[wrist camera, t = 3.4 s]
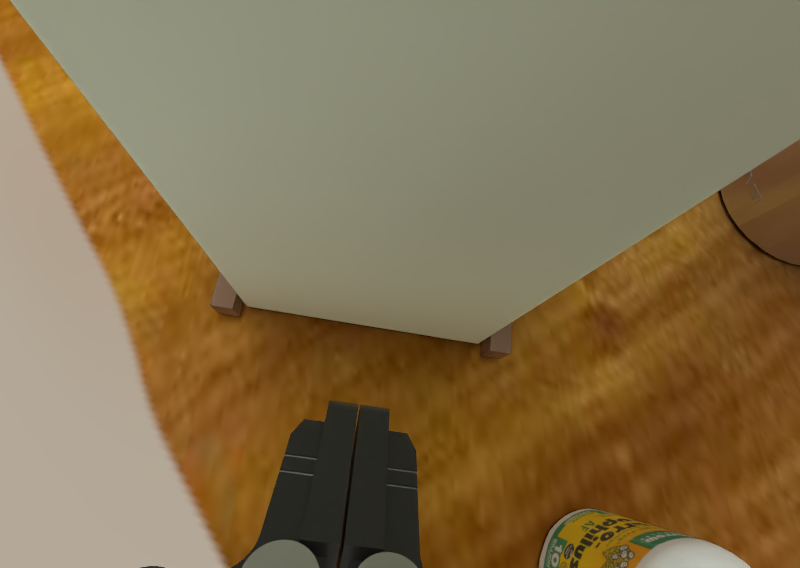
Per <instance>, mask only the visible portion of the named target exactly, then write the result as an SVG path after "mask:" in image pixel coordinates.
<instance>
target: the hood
mask: <svg viewBox="0 0 800 568" xmlns="http://www.w3.org/2000/svg"><path fill="white" fill-rule="evenodd" d="M10 1H11V2H12V4H13V5H14V6H15V8H16V9H17V10H18V11H19V13H20V14H21V15H22V17H23V18H24V19H25V20H26V22H27V23H28V24H29V26H30V27H31V28H32V29H33V31H34V32H35V33H36V35H37V36H38V37H39V39H40V40H41V41H42V42H43V44H44V45H45V46H46V48H47V49H48V50H49V51H50V53H51V54H52V55H53V57H54V58H55V59H56V60H57V62H58V63H59V64H60V66H61V67H62V68H63V70H64V71H65V72H66V73H67V75H68V76H69V77H70V79H71V80H72V81H73V82H74V84H75V85H76V86H77V88H78V89H79V90H80V91H81V93H82V94H83V95H84V97H85V98H86V99H87V100H88V102H89V103H90V104H91V106H92V107H93V108H94V110H95V111H96V112H97V113H98V115H99V116H100V117H101V119H102V120H103V121H104V122H105V124H106V125H107V126H108V128H109V129H110V130H111V131H112V133H113V134H114V135H115V137H116V138H117V139H118V141H119V142H120V143H121V144H122V146H123V147H124V148H125V150H126V151H127V152H128V153H129V155H130V156H131V157H132V159H133V160H134V161H135V162H136V164H137V165H138V166H139V168H140V169H141V170H142V171H143V173H144V174H145V175H146V177H147V178H148V179H149V181H150V182H151V183H152V184H153V186H154V187H155V188H156V190H157V191H158V192H159V193H160V195H161V196H162V197H163V199H164V200H165V201H166V202H167V204H168V205H169V206H170V208H171V209H172V210H173V212H174V213H175V214H176V215H177V217H178V218H179V219H180V221H181V222H182V223H183V224H184V226H185V227H186V228H187V230H188V231H189V232H190V233H191V235H192V236H193V237H194V239H195V240H196V241H197V243H198V244H199V245H200V246H201V248H202V249H203V250H204V252H205V253H206V254H207V255H208V257H209V258H210V259H211V261H212V262H213V263H214V264H215V266H216V267H217V268H218V270H219V271H220V272H221V273H222V275H223V276H224V277H225V279H226V280H227V281H228V283H229V284H230V285H231V286H232V288H233V289H234V290H235V292H236V293H237V294H238V295H239V297H240V298H241V299H242V301H243V302H244V303H245V304H246V306H248V307H254V308H260V309H266V310H273V311H279V312H285V313H291V314H297V315H303V316H310V317H316V318H322V319H328V320H334V321H340V322H346V323H353V324H359V325H365V326H371V327H377V328H383V329H389V330H396V331H402V332H408V333H414V334H420V335H426V336H432V337H439V338H445V339H451V340H457V341H463V342H469V343H475V344H478V343H480V342H481V341H483V340H485V339H486V338H488V337H489V336H491V335H492V334H494V333H496V332H497V331H499V330H500V329H502V328H503V327H505V326H507V325H508V324H510V323H511V322H513V321H514V320H516V319H518V318H519V317H521V316H522V315H524V314H525V313H527V312H529V311H530V310H532V309H533V308H535V307H536V306H538V305H540V304H541V303H543V302H544V301H546V300H548V299H549V298H551V297H552V296H554V295H555V294H557V293H559V292H560V291H562V290H563V289H565V288H566V287H568V286H570V285H571V284H573V283H574V282H576V281H577V280H579V279H581V278H582V277H584V276H585V275H587V274H588V273H590V272H592V271H593V270H595V269H596V268H598V267H599V266H601V265H603V264H604V263H606V262H607V261H609V260H610V259H612V258H614V257H615V256H617V255H618V254H620V253H621V252H623V251H625V250H626V249H628V248H629V247H631V246H632V245H634V244H636V243H637V242H639V241H640V240H642V239H643V238H645V237H647V236H648V235H650V234H651V233H653V232H655V231H656V230H658V229H659V228H661V227H662V226H664V225H666V224H667V223H669V222H670V221H672V220H673V219H675V218H677V217H678V216H680V215H681V214H683V213H684V212H686V211H688V210H689V209H691V208H692V207H694V206H695V205H697V204H699V203H700V202H702V201H703V200H705V199H706V198H708V197H710V196H711V195H713V194H714V193H716V192H717V191H719V190H721V189H722V188H724V187H725V186H727V185H728V184H730V183H732V182H733V181H735V180H736V179H738V178H739V177H741V176H743V175H744V174H746V173H747V172H749V171H750V170H752V169H754V168H755V167H757V166H758V165H760V164H762V163H763V162H765V161H766V160H768V159H769V158H771V157H773V156H774V155H776V154H777V153H779V152H780V151H782V150H784V149H785V148H787V147H788V146H790V145H791V144H793V143H795V142H796V141H798V140H799V139H800V0H10Z"/></svg>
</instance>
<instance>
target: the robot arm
mask: <svg viewBox="0 0 800 568" xmlns="http://www.w3.org/2000/svg"><path fill="white" fill-rule="evenodd" d="M721 194H722V198H723V201H724V203H725V205H726V208H727V210H728V212H729V214H730V215H731V217H732V219H733V220H734V222H735V223H736V225H737V226H738V227H739V228H740V230H741V231H742V232H743V233H744V234H745V235H746V236H747V237H748V238H749V239H750V240H751V241H752V242H753V243H755V244H756V245H757V246H758V247H760V248H761V249H762V250H764V251H765V252H767V253H769V254H770V255H772V256H774V257H776V258H778V259H780V260H783V261H786V262H788V263H791V264H795V265H800V139H799V140H798V141H796V142H795V143H793V144H791V145H790V146H788V147H787V148H785V149H784V150H782V151H780V152H779V153H777V154H776V155H774V156H773V157H771V158H769V159H768V160H766V161H765V162H763V163H762V164H760V165H758V166H757V167H755V168H754V169H752V170H750V171H749V172H747V173H746V174H744V175H743V176H741V177H739V178H738V179H736V180H735V181H733V182H732V183H730V184H728V185H727V186H725V187H724V188H722V189H721ZM357 411H358V405H357V404H350V403H343V402H336V401H330V402H329V406H328V410H327V415H326V419H325V422H321V421H314V420H307V419H304V420H303V421H302V422H301V423H300V425H299V426H298V427H297V428H296V429H295V430H294V431H293V432H292V433H291V435H290V438H289V442H288V445H287V448H286V452H285V456H284V458H283V462H282V465H281V468H280V473H279V475H278V478H277V481H276V485H275V488H274V491H273V495H272V498H271V501H270V504H269V508H268V511H267V514H266V518H265V521H264V524H263V528H262V531H261V534H260V537H259V539H258V541H257V543H256V545H255V547H254V548H253V549H252V551H251V552H250V553H249V554H248V555H247V556H246V557H245V558H244V559H243V560H242V561H241V562H239V563H238V564H237V565H235V566H233V567H232V568H423V567H422V563H421V560H420V548H419V520H418V493H417V474H416V472H417V465H416V450H415V448H414V446H413V444H412V442H411V440H410V438H409V436H408V434H407V433H400V432H393V431H389V409H385V408H378V407H372V406H365V405H361V406H360V410H359V415H358V421H357V426H356V419H357ZM355 427H356V431H355ZM354 434H355V437H354ZM142 568H164V567H158V566H149V567H142Z"/></svg>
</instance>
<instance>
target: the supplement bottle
mask: <svg viewBox="0 0 800 568" xmlns="http://www.w3.org/2000/svg"><path fill="white" fill-rule="evenodd" d="M539 568H751V567H750V566H749V565H748V564H746V563H745V562H744V561H743V560H741V559H740V558H738V557H737V556H736V555H734V554H733V553H731V552H729V551H727V550H726V549H724V548H722V547H720V546H717V545H715V544H713V543H711V542H708V541H705V540H702V539H698V538H694V537H691V536H687V535H683V534H680V533H676V532H673V531H669V530H666V529H663V528H659V527H656V526H653V525H650V524H646V523H643V522H639V521H636V520H633V519H630V518H626V517H623V516H619V515H616V514H613V513H608V512H605V511H601V510H595V509H581V510H577V511H574V512H572V513H569V514H568V515H566V516H564V517H563V518H562V519H560V520H559V521H558V522H557V523H556V524H555V525H554V526H553V527H552V529H551V530H550V531H549V534H548V536H547V538H546V540H545V543H544V546H543V549H542V553H541V556H540V561H539Z"/></svg>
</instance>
